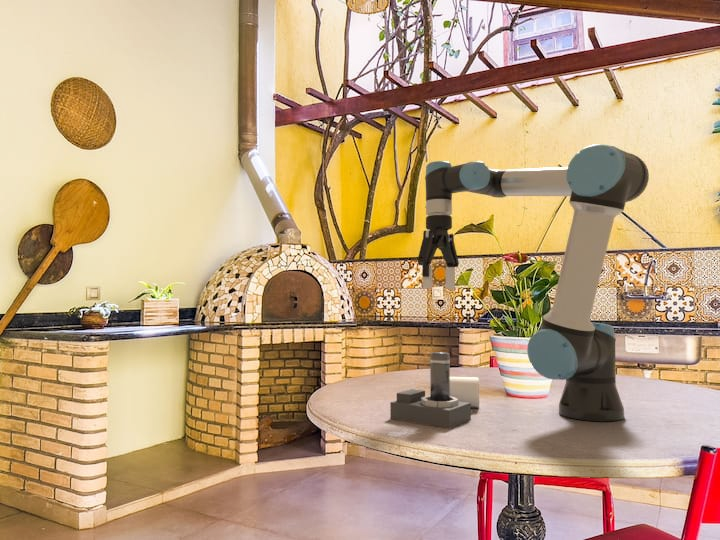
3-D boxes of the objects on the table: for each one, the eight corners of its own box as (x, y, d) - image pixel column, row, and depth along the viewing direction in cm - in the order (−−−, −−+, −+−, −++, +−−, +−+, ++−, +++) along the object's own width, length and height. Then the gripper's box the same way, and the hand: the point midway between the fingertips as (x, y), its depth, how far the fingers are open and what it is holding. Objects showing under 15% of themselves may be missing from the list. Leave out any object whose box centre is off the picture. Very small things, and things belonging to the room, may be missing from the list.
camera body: (470, 419, 135) (470, 394, 136) (449, 428, 127) (449, 401, 127) (414, 411, 145) (413, 387, 145) (390, 418, 136) (390, 393, 136)
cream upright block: (479, 410, 146) (479, 379, 146) (440, 409, 148) (440, 378, 148) (479, 401, 158) (478, 373, 158) (443, 400, 160) (443, 372, 160)
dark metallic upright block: (445, 401, 137) (445, 351, 138) (453, 405, 133) (452, 353, 133) (427, 402, 136) (427, 352, 137) (434, 406, 132) (433, 354, 132)
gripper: (447, 221, 175) (447, 289, 174) (404, 211, 155) (405, 288, 154) (469, 219, 170) (470, 289, 169) (428, 209, 150) (429, 288, 149)
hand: (439, 289), depth 161 cm, fingers open, 13 cm apart
